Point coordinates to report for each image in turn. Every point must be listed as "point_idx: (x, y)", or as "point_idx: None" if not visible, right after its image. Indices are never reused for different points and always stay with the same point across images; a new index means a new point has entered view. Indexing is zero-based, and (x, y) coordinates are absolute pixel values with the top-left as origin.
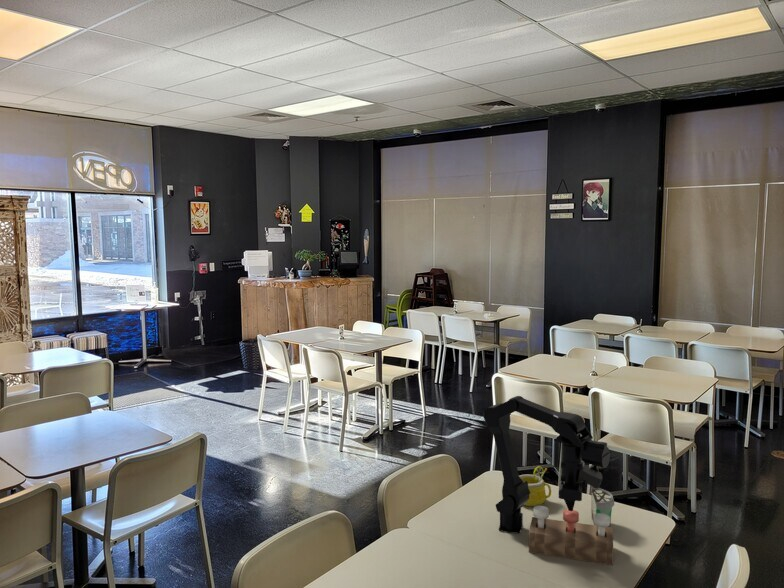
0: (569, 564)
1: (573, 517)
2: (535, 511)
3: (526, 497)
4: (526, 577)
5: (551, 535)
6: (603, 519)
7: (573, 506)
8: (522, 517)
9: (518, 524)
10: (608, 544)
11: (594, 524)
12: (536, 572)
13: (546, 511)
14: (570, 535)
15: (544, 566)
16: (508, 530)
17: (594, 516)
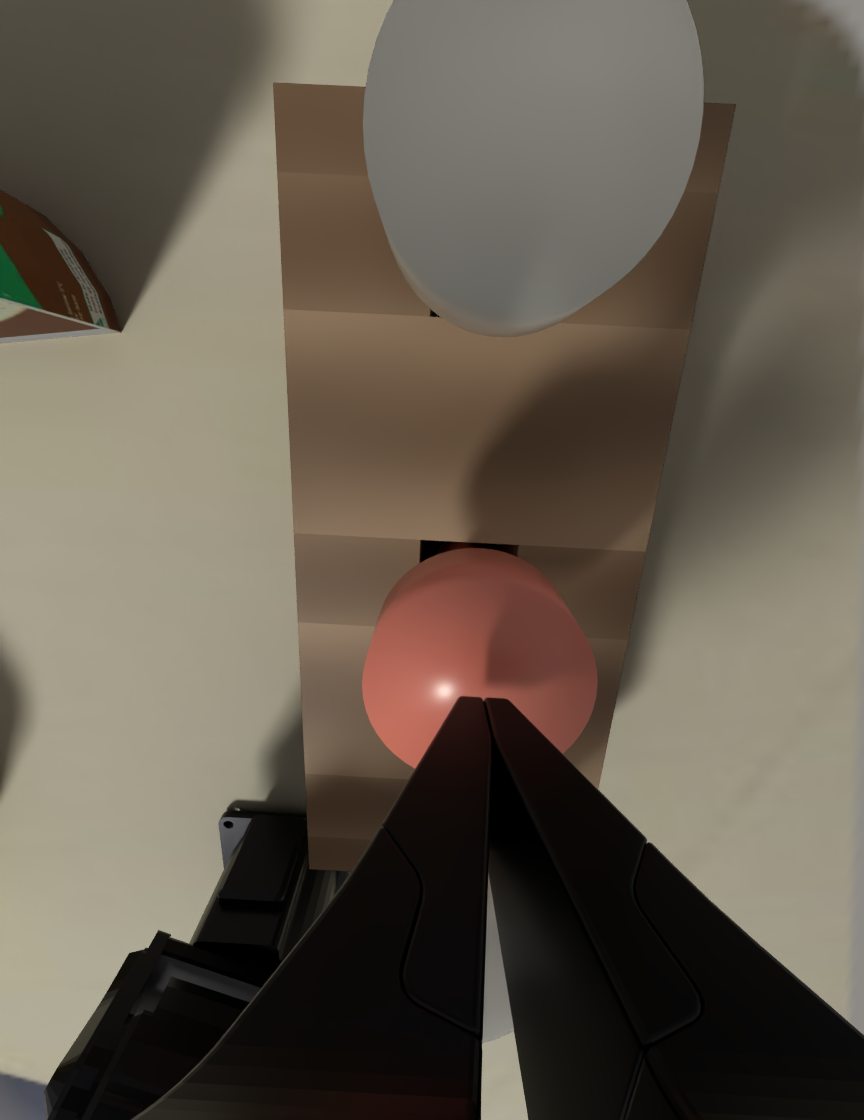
0: (656, 545)
1: (590, 652)
2: (512, 1024)
3: (178, 1075)
4: (816, 769)
5: (604, 743)
6: (650, 94)
7: (560, 755)
8: (251, 873)
9: (306, 861)
10: (715, 178)
11: (24, 333)
12: (763, 724)
13: (499, 945)
14: (580, 593)
15: (694, 686)
16: (343, 874)
17: (534, 302)
